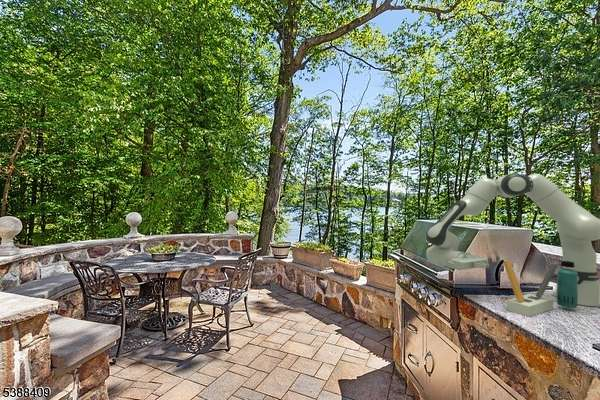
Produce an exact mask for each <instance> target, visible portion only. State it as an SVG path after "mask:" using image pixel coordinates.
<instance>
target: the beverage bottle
mask: <svg viewBox="0 0 600 400" xmlns="http://www.w3.org/2000/svg"><path fill="white" fill-rule="evenodd" d="M560 262H561V263H560V266H561V268H562V267H563V266H564V267H572V268H573V267H575V266H574V262H570V261H563V260H562V261H560ZM561 268H560V269H558V270H557V278H556V287H557V297H556V303H557V305H558V306H560V307H565V308H567V309H576V308H578V304H577V303H578V302H577V297H578V296H577V295H578V294H577V280H578V273H577V272H576V271H574V270H571V269H564V268H562V269H561Z"/></svg>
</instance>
